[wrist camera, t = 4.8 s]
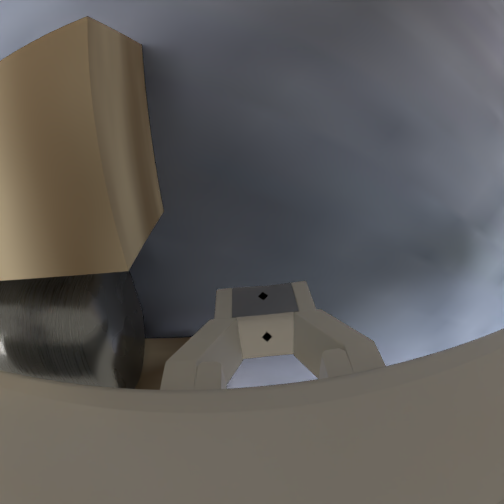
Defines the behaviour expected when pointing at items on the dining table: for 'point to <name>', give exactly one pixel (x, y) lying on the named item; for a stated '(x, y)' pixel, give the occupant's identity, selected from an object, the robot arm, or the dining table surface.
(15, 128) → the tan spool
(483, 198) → the dining table surface
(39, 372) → the axle
